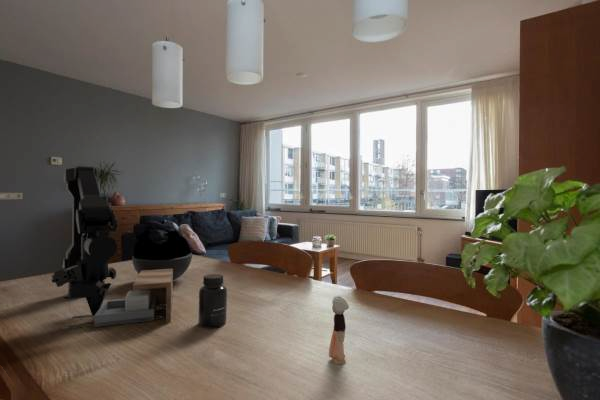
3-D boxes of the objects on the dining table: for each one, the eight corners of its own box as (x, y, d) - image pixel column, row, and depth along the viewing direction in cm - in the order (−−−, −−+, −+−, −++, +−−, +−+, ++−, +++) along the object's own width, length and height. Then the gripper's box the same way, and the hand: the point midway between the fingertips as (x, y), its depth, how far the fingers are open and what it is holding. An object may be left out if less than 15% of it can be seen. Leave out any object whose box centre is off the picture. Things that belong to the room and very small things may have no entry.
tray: (105, 311, 87) (105, 300, 87) (157, 305, 91) (157, 296, 91) (94, 327, 76) (94, 315, 76) (153, 320, 81) (153, 309, 81)
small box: (128, 308, 86) (128, 290, 86) (151, 306, 88) (151, 288, 88) (124, 316, 81) (124, 297, 81) (149, 313, 83) (149, 294, 83)
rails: (73, 317, 83) (73, 316, 83) (168, 307, 91) (168, 306, 91) (62, 329, 75) (62, 328, 75) (167, 317, 83) (167, 316, 83)
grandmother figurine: (325, 350, 67) (326, 290, 67) (343, 350, 67) (344, 290, 67) (332, 371, 59) (333, 303, 59) (352, 370, 59) (353, 303, 59)
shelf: (140, 305, 91) (140, 270, 91) (172, 302, 94) (172, 268, 94) (132, 326, 77) (133, 285, 77) (170, 322, 80) (170, 282, 80)
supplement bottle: (219, 330, 76) (219, 280, 76) (193, 327, 77) (193, 278, 77) (231, 319, 83) (231, 273, 82) (206, 317, 84) (207, 271, 84)
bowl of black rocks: (203, 281, 118) (203, 230, 117) (151, 294, 102) (151, 236, 101) (172, 272, 130) (172, 226, 129) (121, 283, 113) (121, 231, 113)
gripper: (70, 249, 87) (70, 305, 87) (40, 263, 69) (40, 334, 70) (116, 247, 91) (116, 301, 91) (99, 260, 73) (99, 328, 73)
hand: (94, 314), depth 81 cm, fingers closed
